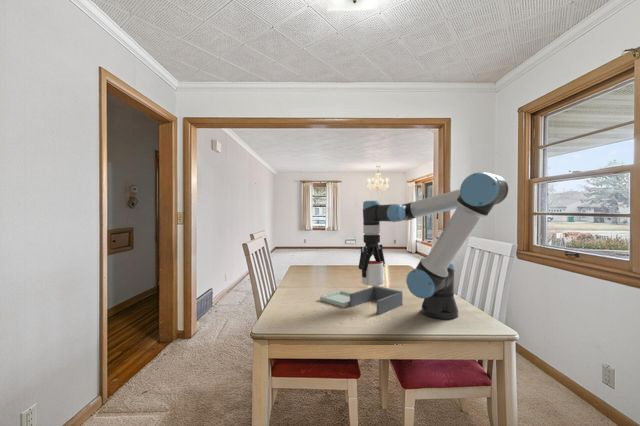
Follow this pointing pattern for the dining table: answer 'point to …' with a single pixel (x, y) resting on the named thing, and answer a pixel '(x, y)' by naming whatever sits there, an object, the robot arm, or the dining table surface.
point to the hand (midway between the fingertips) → (372, 282)
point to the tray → (337, 298)
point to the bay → (378, 298)
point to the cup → (374, 273)
